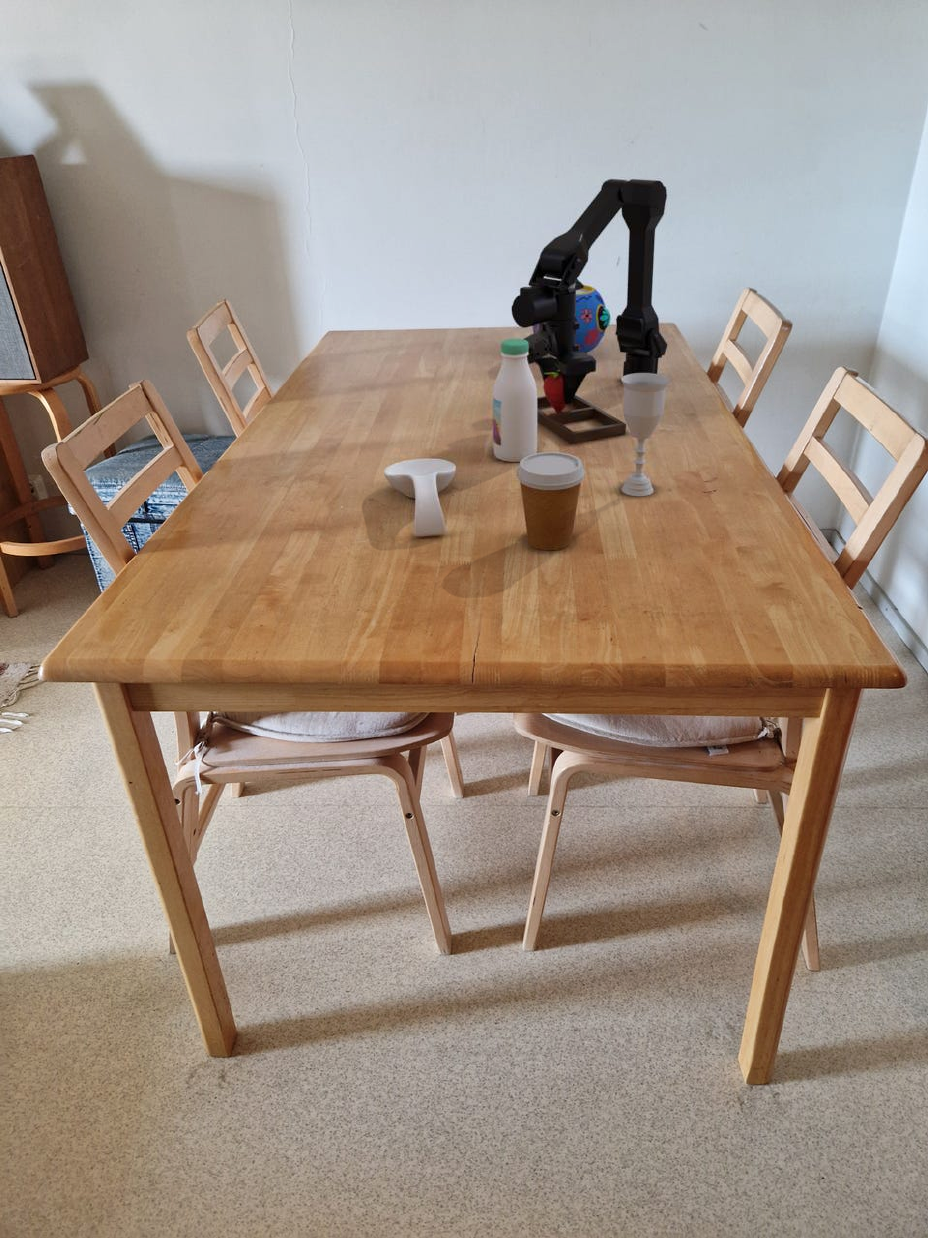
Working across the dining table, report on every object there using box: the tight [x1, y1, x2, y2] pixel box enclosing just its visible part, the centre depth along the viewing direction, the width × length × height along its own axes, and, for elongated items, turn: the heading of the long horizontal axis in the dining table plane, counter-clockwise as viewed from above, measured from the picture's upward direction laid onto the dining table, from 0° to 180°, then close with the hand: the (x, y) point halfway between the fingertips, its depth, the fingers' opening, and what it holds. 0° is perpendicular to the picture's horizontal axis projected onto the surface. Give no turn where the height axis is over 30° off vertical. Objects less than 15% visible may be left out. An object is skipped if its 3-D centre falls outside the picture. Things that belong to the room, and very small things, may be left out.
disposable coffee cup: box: [516, 451, 586, 551], centre depth 127 cm, size 10×10×12 cm
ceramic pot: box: [531, 284, 611, 354], centre depth 210 cm, size 18×18×15 cm
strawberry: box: [543, 365, 567, 413], centre depth 175 cm, size 6×8×10 cm
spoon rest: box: [383, 458, 457, 537], centre depth 140 cm, size 24×12×7 cm, turn 8°
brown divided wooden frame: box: [537, 394, 627, 445], centre depth 173 cm, size 11×22×2 cm, turn 22°
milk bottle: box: [492, 338, 538, 463], centre depth 154 cm, size 8×8×20 cm
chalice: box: [620, 373, 671, 497], centre depth 140 cm, size 7×7×18 cm
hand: (558, 398), depth 176 cm, fingers closed on strawberry, 7 cm apart
